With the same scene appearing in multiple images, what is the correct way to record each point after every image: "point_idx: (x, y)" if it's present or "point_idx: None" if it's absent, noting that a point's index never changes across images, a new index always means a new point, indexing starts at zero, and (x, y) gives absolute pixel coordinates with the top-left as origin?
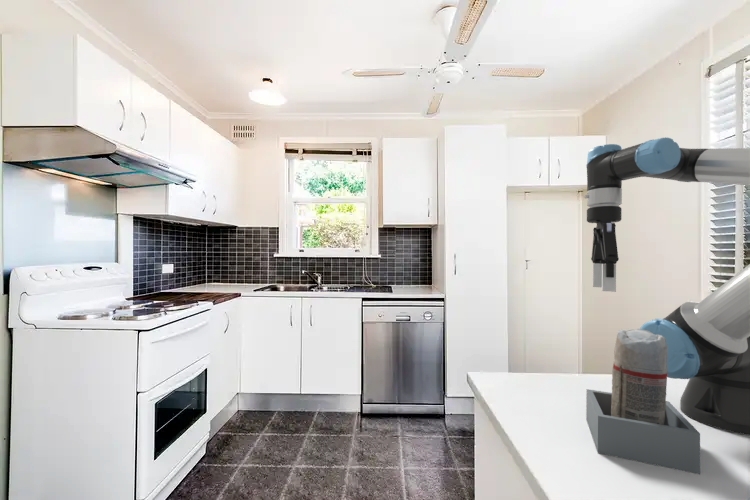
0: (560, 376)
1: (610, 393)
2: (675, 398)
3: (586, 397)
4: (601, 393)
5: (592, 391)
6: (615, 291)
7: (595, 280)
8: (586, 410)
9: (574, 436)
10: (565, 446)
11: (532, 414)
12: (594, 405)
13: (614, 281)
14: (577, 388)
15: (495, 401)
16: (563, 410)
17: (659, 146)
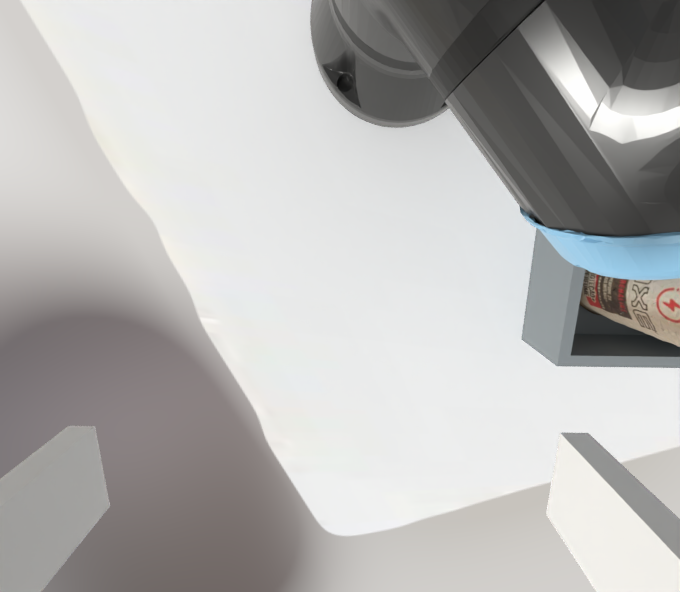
0: (248, 361)
1: (570, 319)
2: (288, 107)
3: (547, 357)
4: (573, 338)
5: (570, 356)
6: (590, 437)
7: (58, 548)
8: (532, 346)
9: (604, 367)
10: (647, 384)
11: (529, 427)
12: (664, 365)
13: (660, 516)
14: (328, 332)
15: (489, 487)
16: (487, 374)
17: None
